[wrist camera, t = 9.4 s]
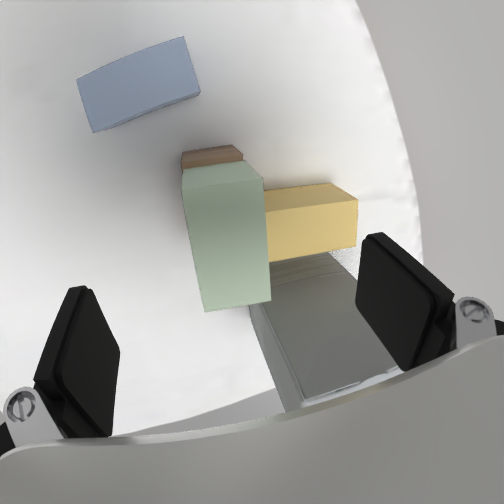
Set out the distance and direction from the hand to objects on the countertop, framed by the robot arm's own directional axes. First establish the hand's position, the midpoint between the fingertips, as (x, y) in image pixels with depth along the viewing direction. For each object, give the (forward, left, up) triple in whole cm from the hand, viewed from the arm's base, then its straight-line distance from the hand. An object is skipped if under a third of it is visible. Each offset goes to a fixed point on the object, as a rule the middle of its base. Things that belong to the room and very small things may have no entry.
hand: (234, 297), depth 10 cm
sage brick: (+1, 0, -11) cm, 11 cm away
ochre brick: (+3, +7, -16) cm, 17 cm away
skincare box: (+10, +6, -16) cm, 20 cm away
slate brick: (-8, -4, -16) cm, 18 cm away
